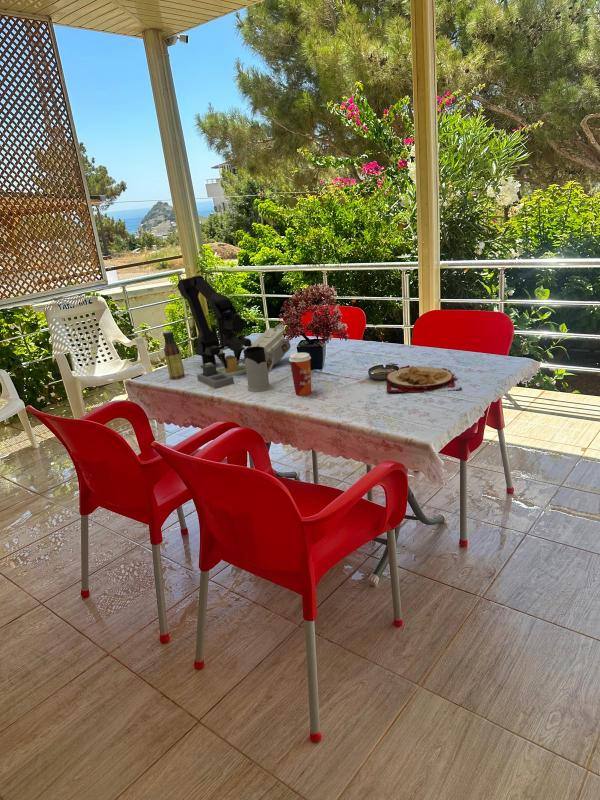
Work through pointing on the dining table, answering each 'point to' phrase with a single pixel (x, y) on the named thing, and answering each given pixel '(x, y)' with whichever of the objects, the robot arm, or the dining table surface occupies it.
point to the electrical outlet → (271, 345)
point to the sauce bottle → (173, 357)
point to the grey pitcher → (257, 368)
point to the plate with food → (419, 379)
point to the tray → (240, 370)
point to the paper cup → (301, 373)
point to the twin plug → (209, 369)
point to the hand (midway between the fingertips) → (231, 366)
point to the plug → (231, 364)
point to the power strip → (216, 380)
